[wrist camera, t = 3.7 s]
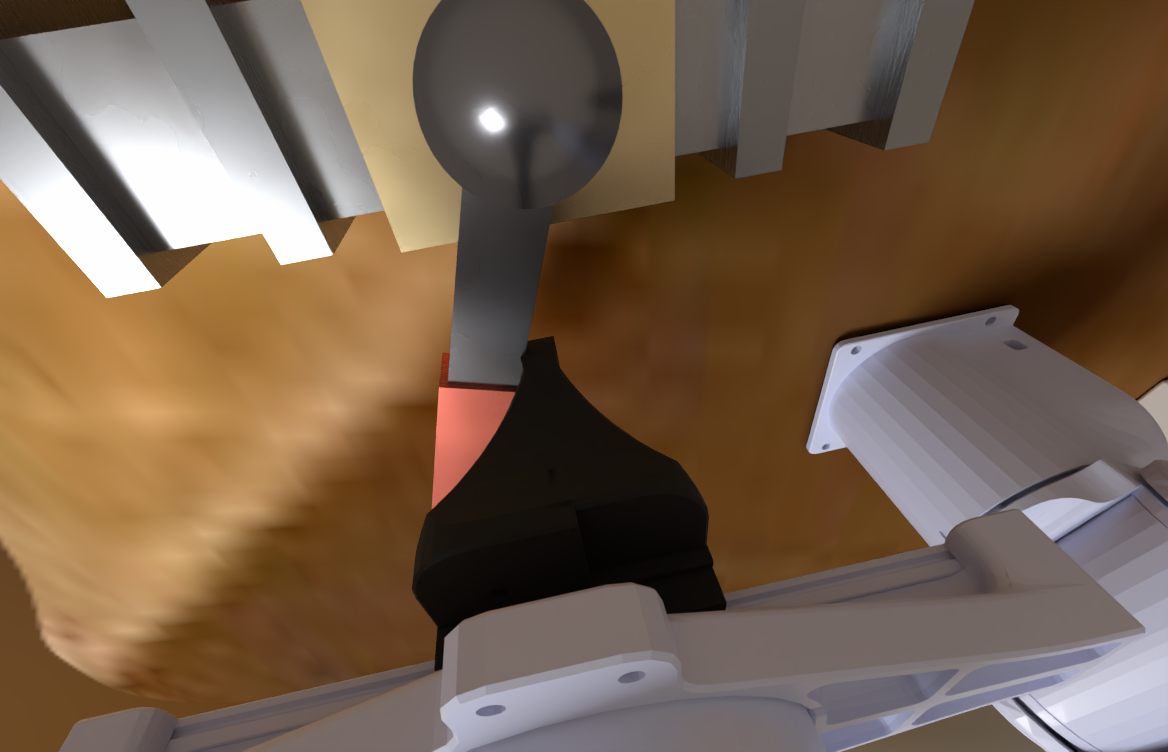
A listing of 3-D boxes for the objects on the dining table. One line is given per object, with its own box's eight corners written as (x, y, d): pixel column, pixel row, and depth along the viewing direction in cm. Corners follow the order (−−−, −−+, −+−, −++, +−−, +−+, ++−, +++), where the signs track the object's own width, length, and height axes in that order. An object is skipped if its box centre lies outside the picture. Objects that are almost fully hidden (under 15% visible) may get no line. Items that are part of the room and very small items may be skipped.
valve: (855, -135, 12) (1041, -205, 8) (811, 120, 16) (923, 158, 12) (58, -15, 11) (-182, -26, 7) (217, 229, 15) (119, 312, 11)
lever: (425, -55, 8) (413, -68, 7) (622, 6, 9) (648, 6, 8) (413, 467, 16) (407, 513, 14) (520, 469, 17) (524, 511, 15)
